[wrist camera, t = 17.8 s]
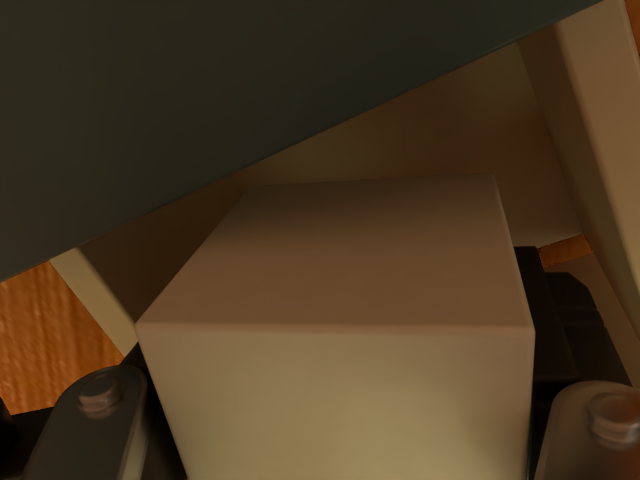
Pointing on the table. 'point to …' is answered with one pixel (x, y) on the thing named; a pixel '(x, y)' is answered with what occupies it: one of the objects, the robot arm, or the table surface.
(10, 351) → the table surface
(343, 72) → the cabinet
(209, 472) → the block
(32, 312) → the table surface
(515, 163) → the drawer
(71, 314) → the table surface
